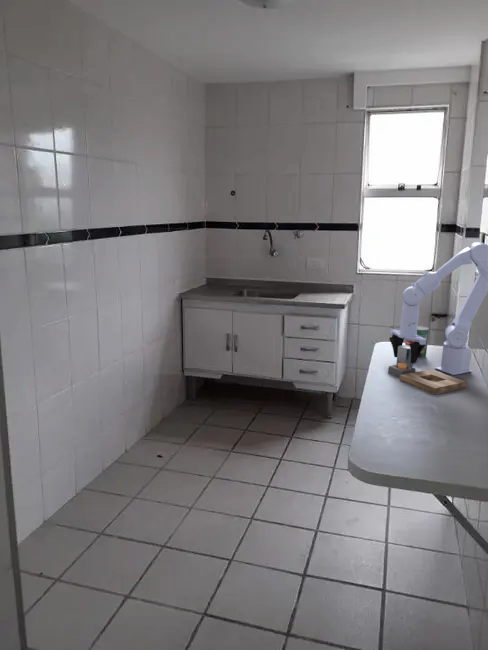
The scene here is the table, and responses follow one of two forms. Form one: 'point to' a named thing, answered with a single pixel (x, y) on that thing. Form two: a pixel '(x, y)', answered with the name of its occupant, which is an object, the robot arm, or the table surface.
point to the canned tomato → (423, 333)
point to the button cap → (402, 365)
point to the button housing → (400, 370)
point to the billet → (404, 355)
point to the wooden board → (432, 381)
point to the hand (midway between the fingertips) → (405, 359)
